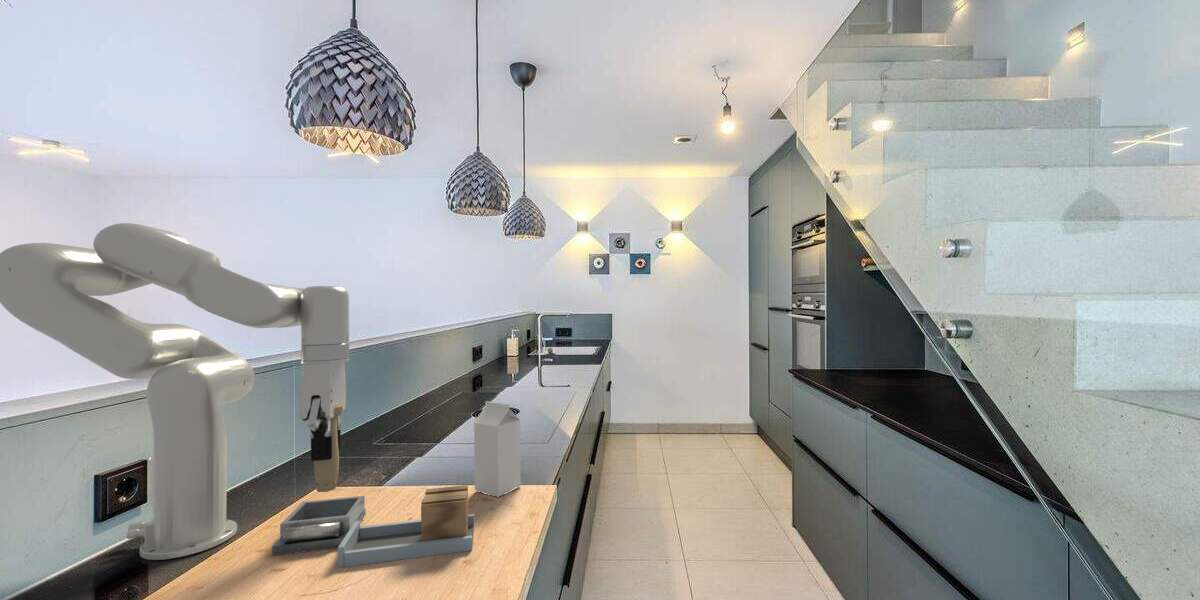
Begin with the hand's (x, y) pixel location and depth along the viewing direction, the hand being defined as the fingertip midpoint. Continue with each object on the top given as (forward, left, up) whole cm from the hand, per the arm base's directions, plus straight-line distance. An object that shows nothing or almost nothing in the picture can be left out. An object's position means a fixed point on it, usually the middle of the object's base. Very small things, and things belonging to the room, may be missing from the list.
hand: (326, 454), depth 84 cm
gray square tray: (0, -1, -14) cm, 14 cm away
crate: (+21, -9, -14) cm, 27 cm away
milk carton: (+30, +12, -14) cm, 35 cm away
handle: (0, 0, -6) cm, 6 cm away
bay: (+16, -9, -14) cm, 23 cm away
